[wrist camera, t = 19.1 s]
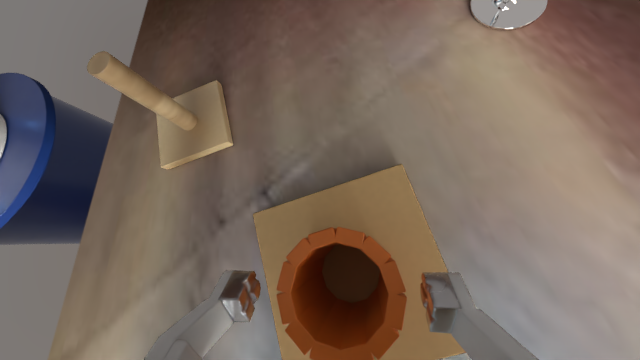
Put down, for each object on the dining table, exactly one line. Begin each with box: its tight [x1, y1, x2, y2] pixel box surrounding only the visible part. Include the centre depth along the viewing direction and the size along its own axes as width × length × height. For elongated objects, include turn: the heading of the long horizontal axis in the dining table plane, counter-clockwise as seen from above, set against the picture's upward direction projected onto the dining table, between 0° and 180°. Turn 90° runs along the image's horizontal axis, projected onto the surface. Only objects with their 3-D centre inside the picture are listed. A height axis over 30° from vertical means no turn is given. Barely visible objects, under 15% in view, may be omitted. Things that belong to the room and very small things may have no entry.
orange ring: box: [276, 227, 407, 360], centre depth 15 cm, size 6×6×8 cm
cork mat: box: [253, 164, 466, 360], centre depth 19 cm, size 14×14×1 cm
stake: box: [87, 51, 233, 170], centre depth 22 cm, size 8×8×10 cm
